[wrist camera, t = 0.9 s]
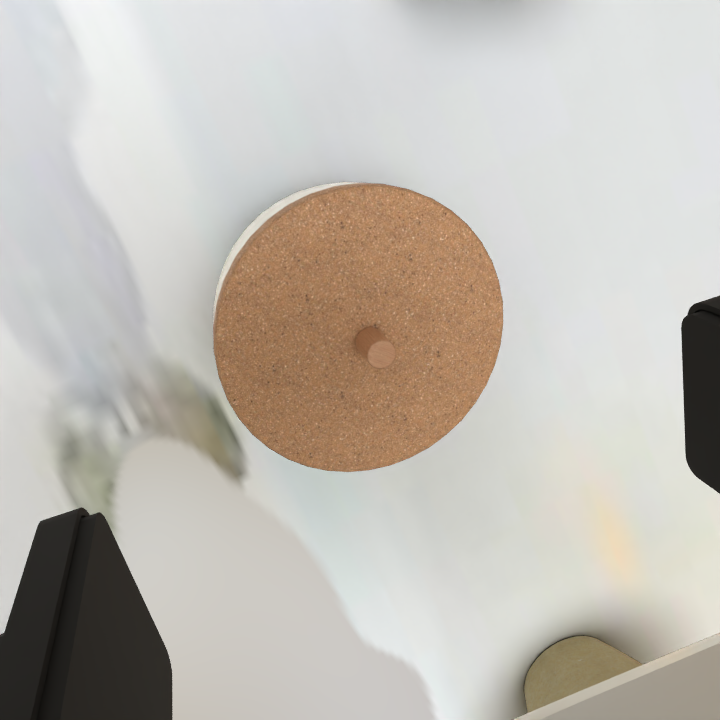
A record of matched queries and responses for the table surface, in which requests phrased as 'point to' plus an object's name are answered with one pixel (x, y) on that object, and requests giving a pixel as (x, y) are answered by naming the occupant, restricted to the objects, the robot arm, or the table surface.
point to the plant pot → (572, 669)
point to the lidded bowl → (355, 325)
